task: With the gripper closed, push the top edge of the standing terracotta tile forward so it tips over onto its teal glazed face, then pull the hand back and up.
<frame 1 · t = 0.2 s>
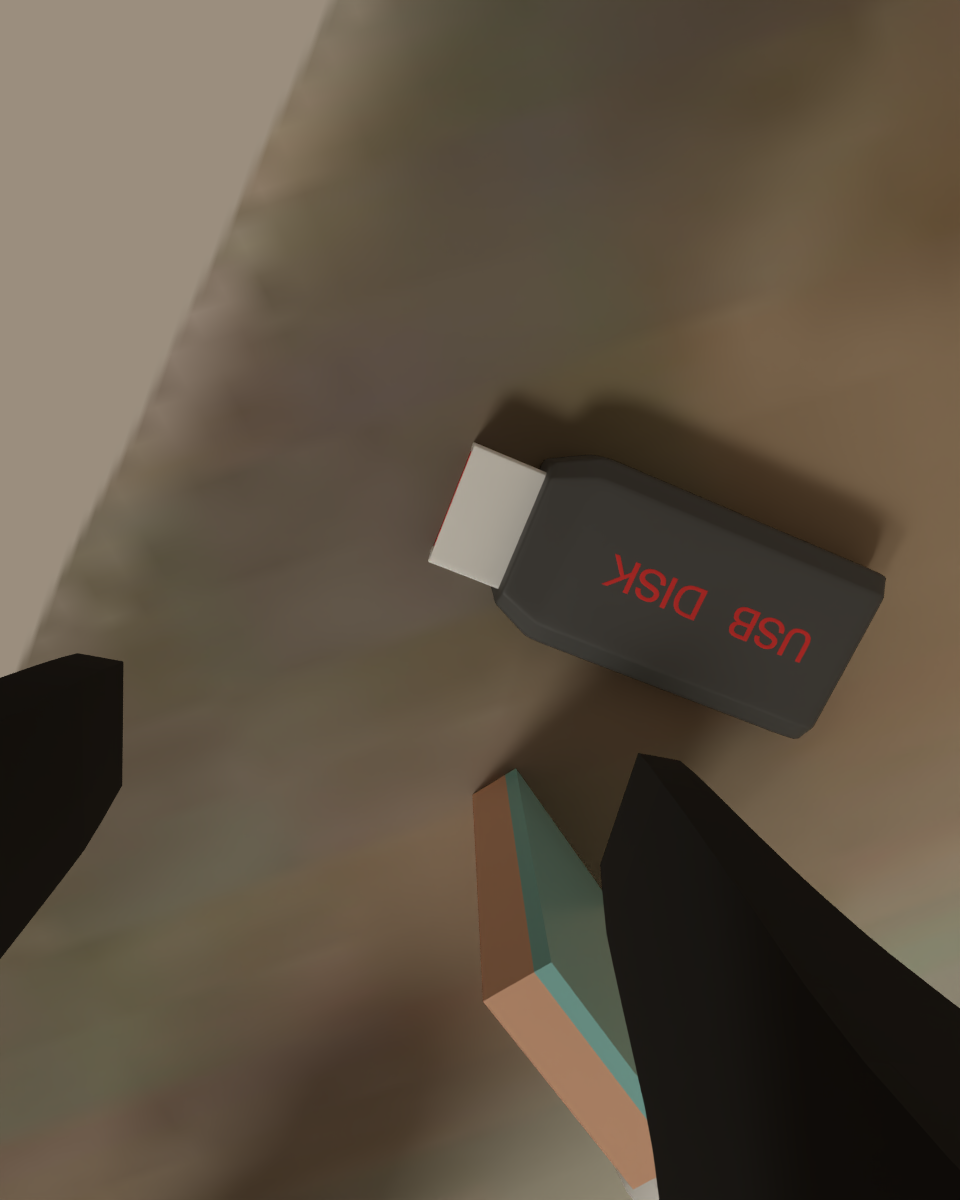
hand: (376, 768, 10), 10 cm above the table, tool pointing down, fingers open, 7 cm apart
tile: (564, 942, 18), point 4 cm above the table
usb drive: (637, 571, 21), on the table
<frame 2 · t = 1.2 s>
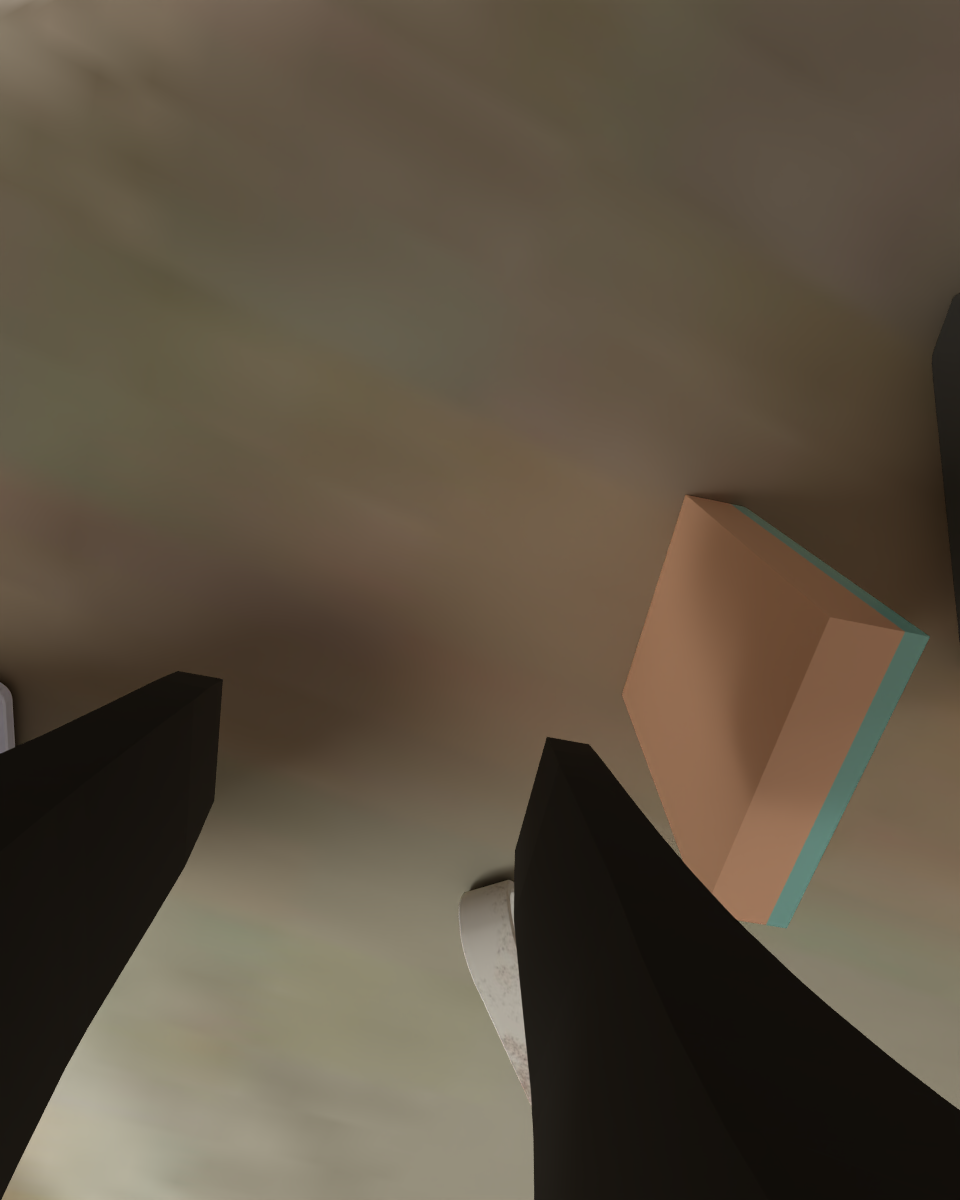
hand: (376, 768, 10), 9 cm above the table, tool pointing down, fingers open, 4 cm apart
tile: (727, 674, 15), point 4 cm above the table
wrench: (612, 1132, 28), on the table
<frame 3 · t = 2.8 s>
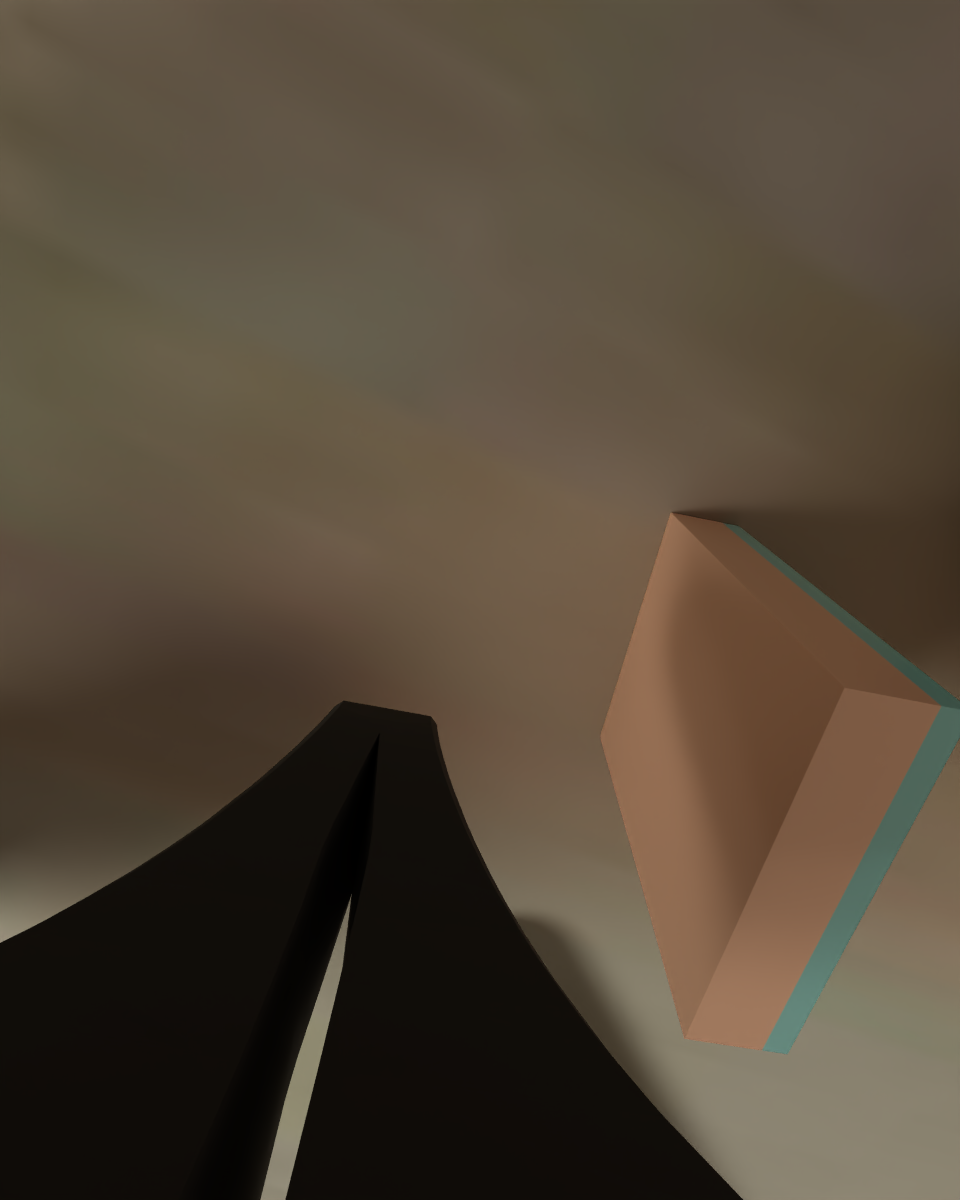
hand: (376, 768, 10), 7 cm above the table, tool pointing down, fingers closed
tile: (717, 729, 13), point 4 cm above the table
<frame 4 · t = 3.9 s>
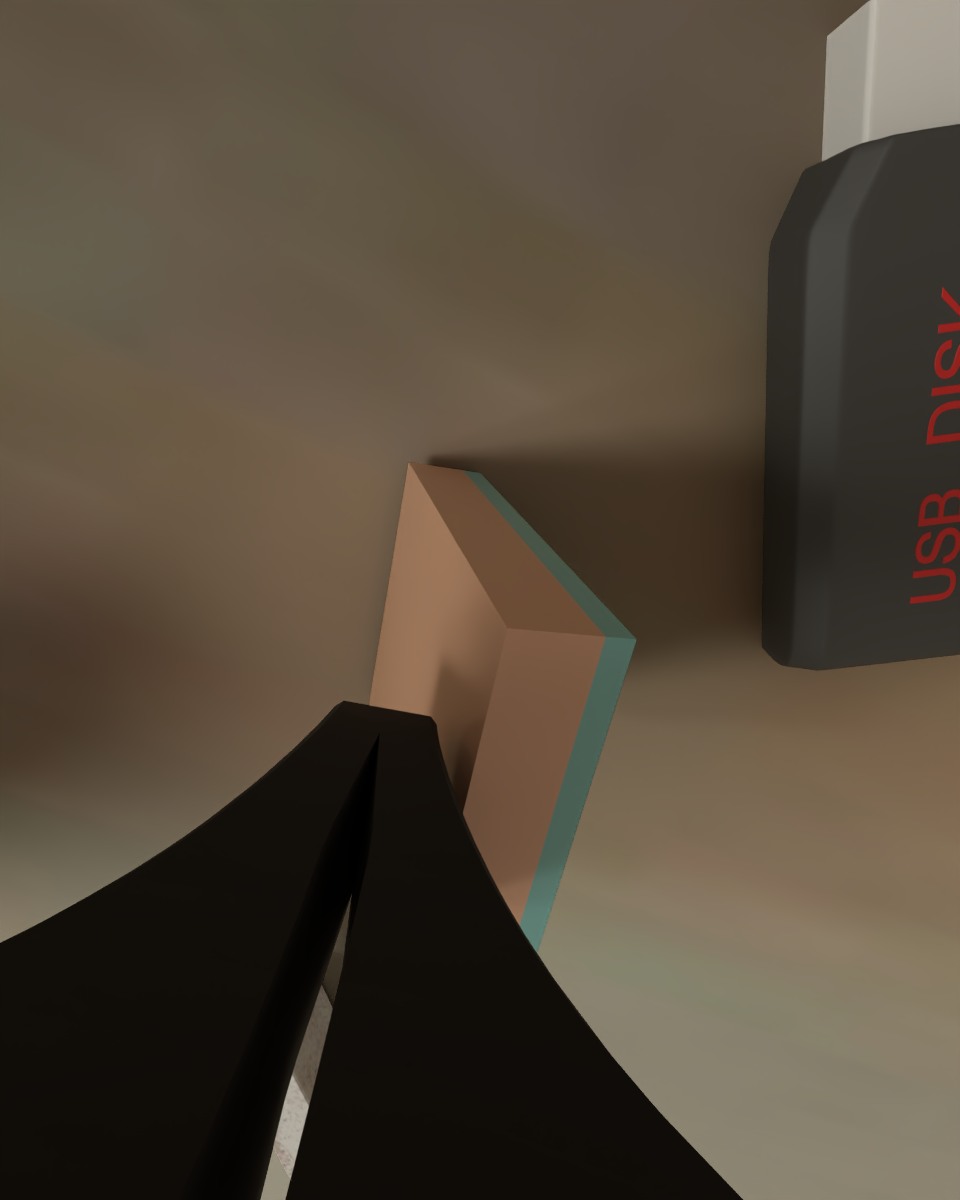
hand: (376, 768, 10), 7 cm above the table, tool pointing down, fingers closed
tile: (455, 682, 12), point 4 cm above the table, tilted 14°
usb drive: (876, 373, 15), on the table
wrench: (427, 1180, 25), on the table
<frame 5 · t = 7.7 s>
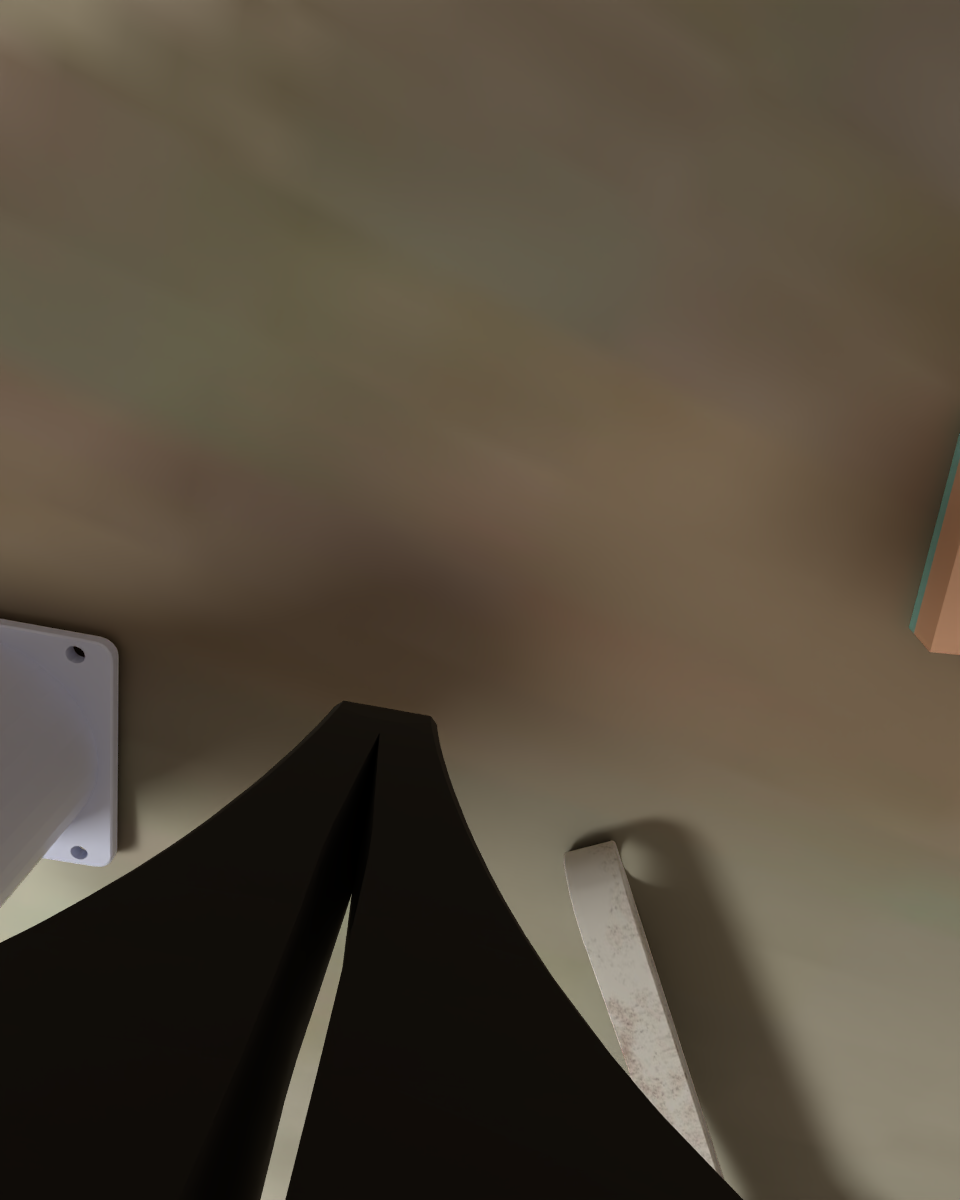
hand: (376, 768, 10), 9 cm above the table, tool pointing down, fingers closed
wrench: (682, 1109, 27), on the table
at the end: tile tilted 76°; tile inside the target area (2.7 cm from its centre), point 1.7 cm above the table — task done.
